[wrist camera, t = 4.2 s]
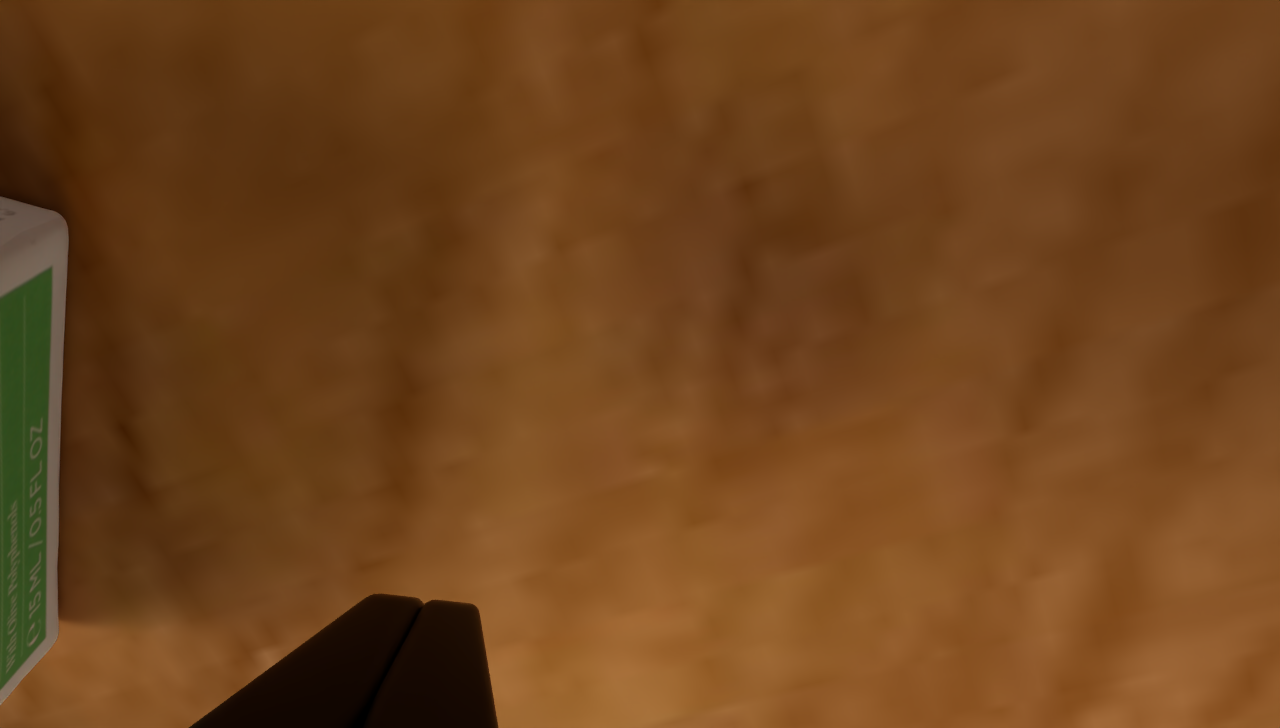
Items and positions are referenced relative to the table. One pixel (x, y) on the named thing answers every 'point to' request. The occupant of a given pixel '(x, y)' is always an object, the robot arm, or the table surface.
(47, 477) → the small box
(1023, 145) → the table surface
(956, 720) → the table surface
